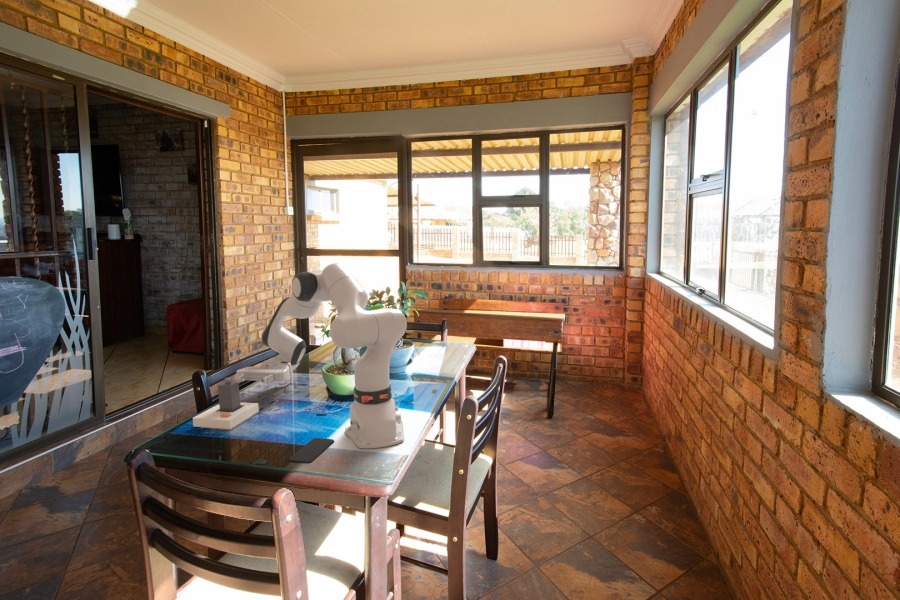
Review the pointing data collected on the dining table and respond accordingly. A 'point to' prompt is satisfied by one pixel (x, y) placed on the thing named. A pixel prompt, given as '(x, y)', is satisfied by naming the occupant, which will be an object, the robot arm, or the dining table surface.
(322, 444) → the phone
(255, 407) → the socket
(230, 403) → the plug
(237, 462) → the dining table surface
